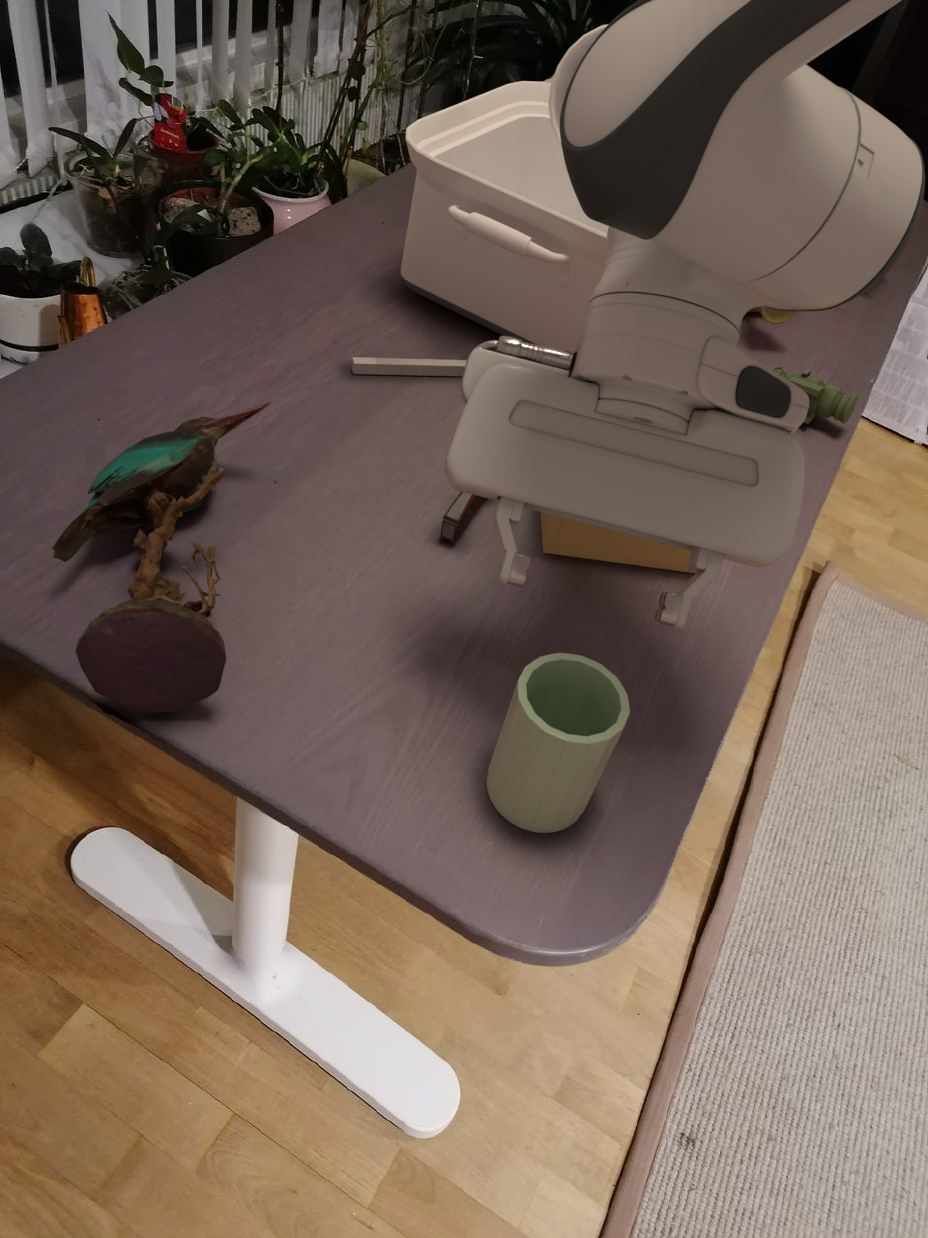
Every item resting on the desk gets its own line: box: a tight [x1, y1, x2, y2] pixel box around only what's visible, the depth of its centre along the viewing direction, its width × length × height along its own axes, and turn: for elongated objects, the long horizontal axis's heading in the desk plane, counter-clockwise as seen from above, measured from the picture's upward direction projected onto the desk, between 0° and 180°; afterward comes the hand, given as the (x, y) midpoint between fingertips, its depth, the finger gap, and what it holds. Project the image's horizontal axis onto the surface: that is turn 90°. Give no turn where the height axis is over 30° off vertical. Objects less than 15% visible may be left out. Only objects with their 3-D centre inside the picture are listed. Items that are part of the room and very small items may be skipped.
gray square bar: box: [350, 356, 467, 377], centre depth 89 cm, size 12×1×1 cm, turn 103°
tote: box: [539, 512, 697, 574], centre depth 78 cm, size 12×13×7 cm
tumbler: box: [486, 652, 631, 834], centre depth 57 cm, size 6×6×9 cm
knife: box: [440, 491, 485, 542], centre depth 78 cm, size 17×1×5 cm, turn 156°
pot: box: [400, 80, 609, 353], centre depth 97 cm, size 34×29×15 cm
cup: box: [548, 23, 609, 148], centre depth 90 cm, size 12×12×12 cm
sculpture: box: [51, 402, 271, 715], centre depth 65 cm, size 8×14×25 cm
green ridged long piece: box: [770, 365, 859, 425], centre depth 96 cm, size 4×18×5 cm
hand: (589, 605), depth 57 cm, fingers open, 8 cm apart
